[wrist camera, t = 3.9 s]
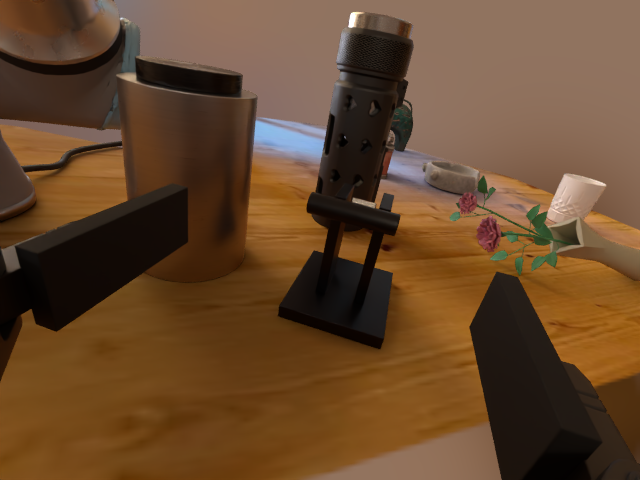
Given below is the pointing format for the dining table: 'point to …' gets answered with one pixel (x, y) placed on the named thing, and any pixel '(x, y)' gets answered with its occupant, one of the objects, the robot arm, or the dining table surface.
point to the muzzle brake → (364, 105)
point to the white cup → (574, 198)
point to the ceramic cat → (402, 126)
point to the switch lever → (354, 213)
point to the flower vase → (552, 239)
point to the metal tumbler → (191, 156)
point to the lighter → (388, 155)
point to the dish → (451, 176)
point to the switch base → (342, 288)
